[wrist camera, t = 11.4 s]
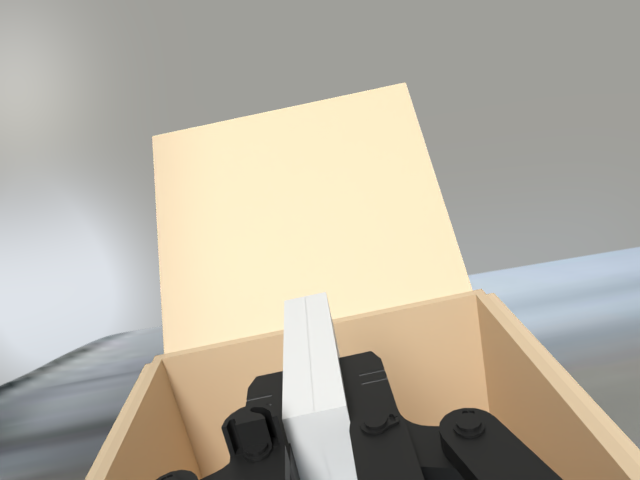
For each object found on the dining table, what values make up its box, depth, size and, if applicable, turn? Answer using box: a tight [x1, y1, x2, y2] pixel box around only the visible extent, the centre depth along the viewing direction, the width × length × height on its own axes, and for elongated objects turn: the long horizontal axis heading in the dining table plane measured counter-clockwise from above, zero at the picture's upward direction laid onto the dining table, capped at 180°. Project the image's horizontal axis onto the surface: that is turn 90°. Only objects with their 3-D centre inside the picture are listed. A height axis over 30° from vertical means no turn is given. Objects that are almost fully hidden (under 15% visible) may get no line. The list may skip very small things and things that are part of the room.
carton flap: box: [152, 83, 473, 354], centre depth 37 cm, size 21×18×1 cm
